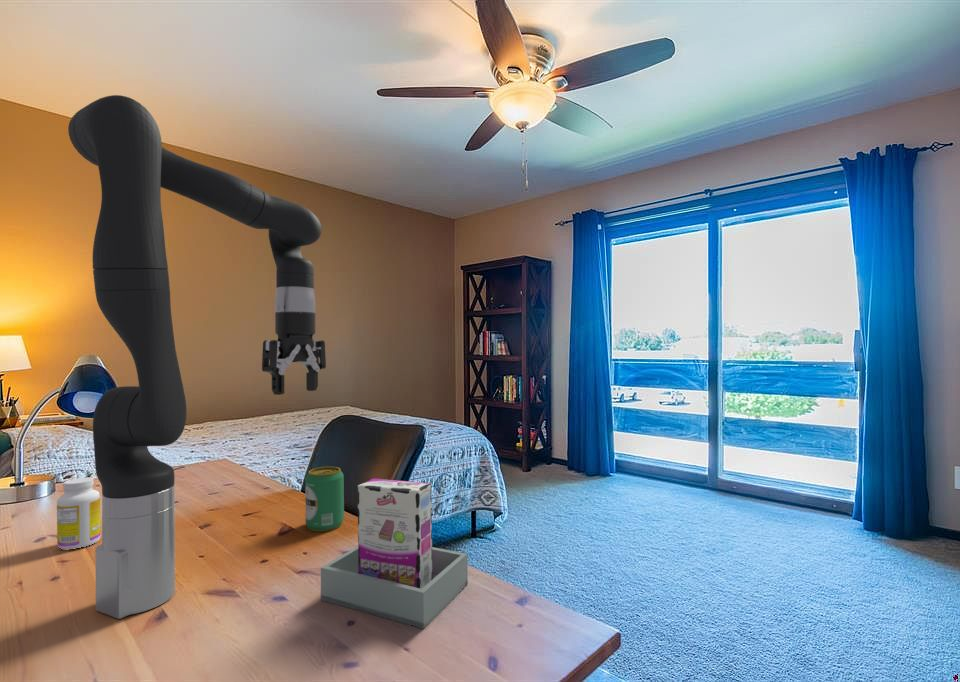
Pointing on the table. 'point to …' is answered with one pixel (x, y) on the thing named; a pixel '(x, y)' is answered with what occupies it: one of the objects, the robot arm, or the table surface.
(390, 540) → the candy bar box
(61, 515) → the supplement bottle
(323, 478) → the beverage can
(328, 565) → the bin
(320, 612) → the table surface
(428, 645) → the table surface
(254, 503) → the table surface
